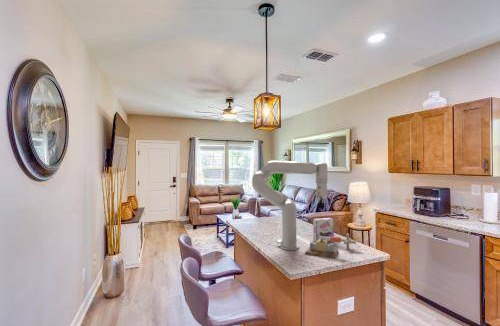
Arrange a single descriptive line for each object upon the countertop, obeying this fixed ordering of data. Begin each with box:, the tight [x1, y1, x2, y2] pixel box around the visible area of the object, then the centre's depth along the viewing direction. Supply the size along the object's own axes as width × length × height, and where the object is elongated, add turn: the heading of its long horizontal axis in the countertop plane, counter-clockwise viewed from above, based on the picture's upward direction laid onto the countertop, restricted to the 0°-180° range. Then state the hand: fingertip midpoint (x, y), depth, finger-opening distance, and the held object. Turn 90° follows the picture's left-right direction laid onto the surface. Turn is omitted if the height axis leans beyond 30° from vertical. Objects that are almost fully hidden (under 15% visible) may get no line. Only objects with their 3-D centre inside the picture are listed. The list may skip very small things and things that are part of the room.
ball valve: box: [309, 240, 335, 253], centre depth 161 cm, size 14×6×7 cm, turn 63°
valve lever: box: [319, 236, 342, 244], centre depth 159 cm, size 13×3×3 cm, turn 64°
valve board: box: [304, 246, 339, 260], centre depth 161 cm, size 18×13×2 cm
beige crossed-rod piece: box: [341, 233, 357, 250], centre depth 169 cm, size 10×10×10 cm
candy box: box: [312, 217, 335, 243], centre depth 187 cm, size 14×6×16 cm, turn 101°
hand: (321, 208), depth 171 cm, fingers closed
